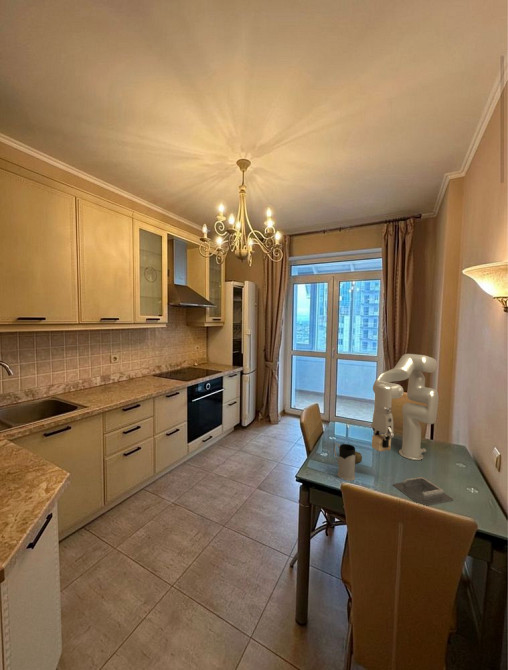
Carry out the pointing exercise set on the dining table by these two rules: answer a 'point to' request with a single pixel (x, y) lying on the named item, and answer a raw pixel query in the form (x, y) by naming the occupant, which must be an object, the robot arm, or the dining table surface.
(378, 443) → the oak lock block
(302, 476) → the dining table surface
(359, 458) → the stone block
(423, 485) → the cradle
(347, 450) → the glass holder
